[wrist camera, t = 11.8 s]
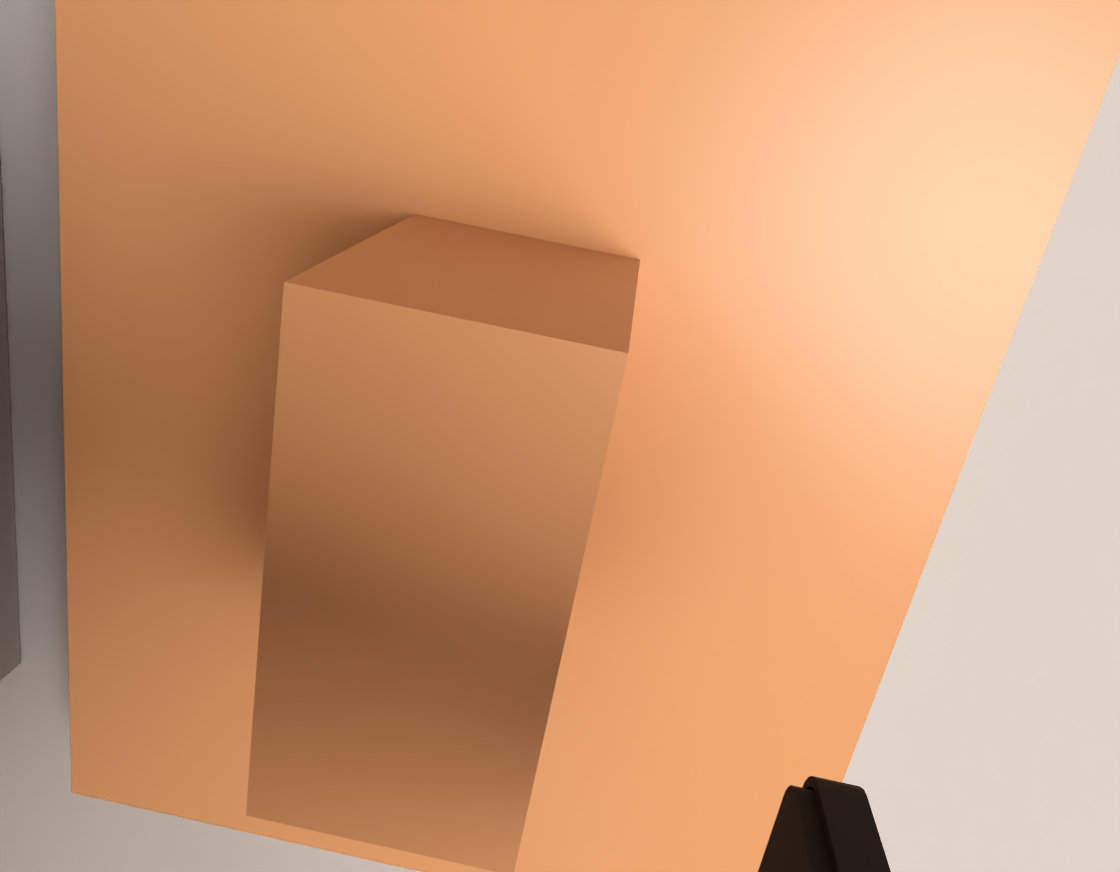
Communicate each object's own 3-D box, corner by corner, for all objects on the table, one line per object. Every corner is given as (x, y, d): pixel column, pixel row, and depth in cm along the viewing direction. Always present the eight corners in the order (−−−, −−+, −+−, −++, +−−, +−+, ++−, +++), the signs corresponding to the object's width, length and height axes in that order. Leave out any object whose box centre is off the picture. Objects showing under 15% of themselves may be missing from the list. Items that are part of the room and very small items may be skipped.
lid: (1105, -96, 16) (1580, -292, 8) (764, 860, 24) (818, 1260, 16) (143, -278, 16) (-379, -643, 8) (132, 719, 24) (-134, 1036, 16)
